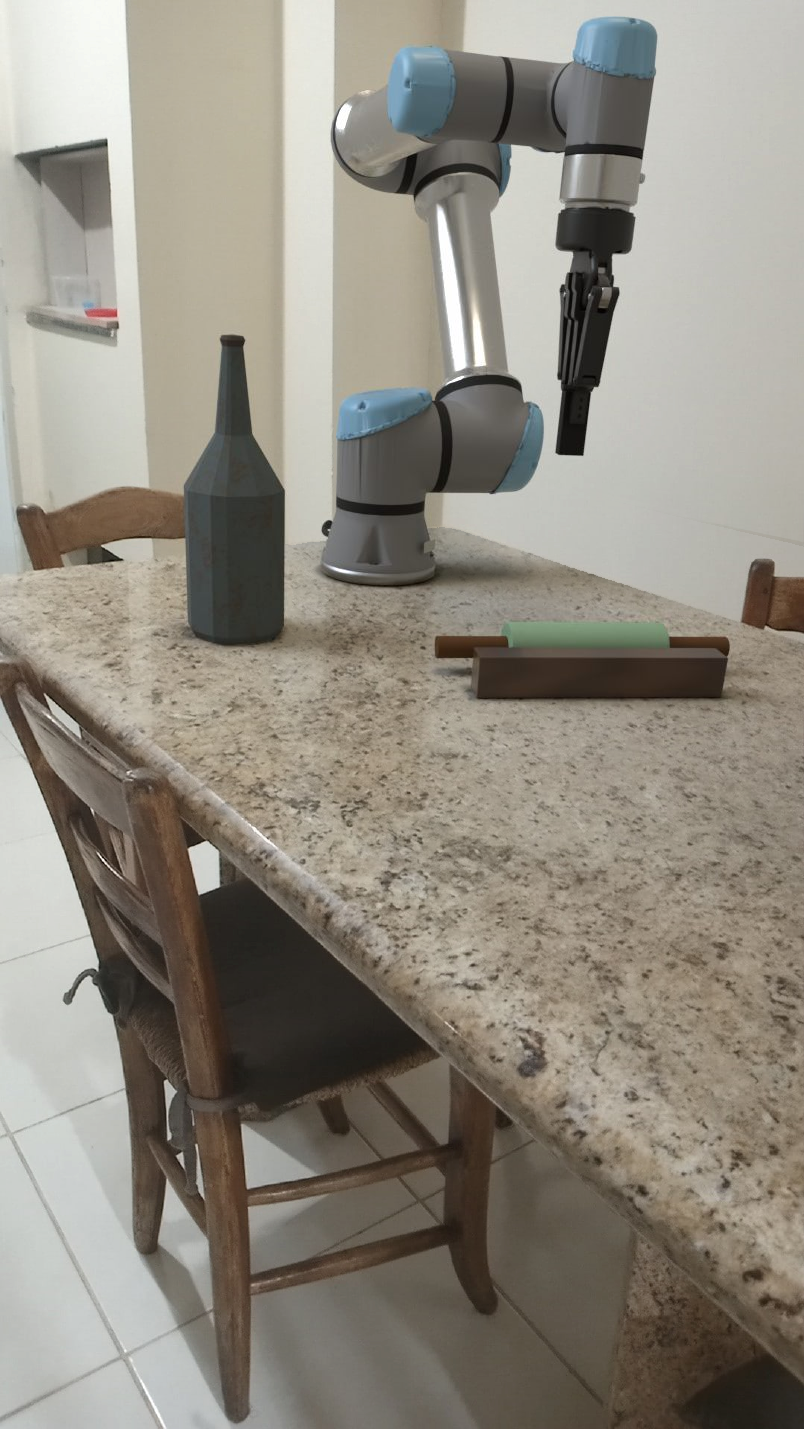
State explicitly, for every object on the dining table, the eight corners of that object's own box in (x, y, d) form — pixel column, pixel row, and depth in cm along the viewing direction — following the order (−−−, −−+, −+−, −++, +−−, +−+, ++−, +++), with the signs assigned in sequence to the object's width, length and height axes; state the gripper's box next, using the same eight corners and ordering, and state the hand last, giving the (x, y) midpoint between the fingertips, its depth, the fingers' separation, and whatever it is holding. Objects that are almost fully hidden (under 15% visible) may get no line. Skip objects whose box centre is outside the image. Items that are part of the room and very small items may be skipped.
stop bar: (476, 698, 95) (480, 657, 93) (470, 686, 98) (473, 647, 96) (721, 697, 98) (728, 658, 97) (708, 686, 101) (715, 647, 99)
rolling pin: (441, 625, 97) (432, 618, 102) (440, 676, 98) (431, 667, 103) (738, 626, 102) (716, 620, 106) (734, 675, 103) (712, 667, 108)
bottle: (302, 631, 111) (306, 337, 100) (238, 652, 104) (234, 337, 92) (234, 612, 116) (230, 331, 105) (168, 630, 109) (157, 330, 98)
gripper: (657, 207, 94) (622, 466, 104) (614, 214, 106) (586, 446, 116) (578, 202, 94) (550, 463, 103) (544, 209, 105) (521, 443, 115)
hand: (569, 454), depth 109 cm, fingers closed
